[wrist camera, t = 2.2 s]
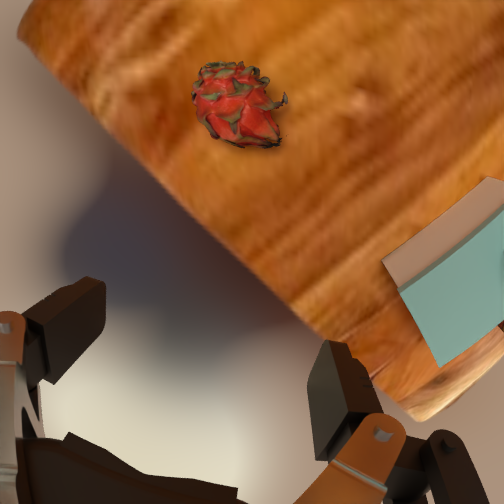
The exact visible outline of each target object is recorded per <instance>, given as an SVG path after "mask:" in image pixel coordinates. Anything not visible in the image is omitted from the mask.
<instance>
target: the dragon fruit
mask: <svg viewBox="0 0 504 504" xmlns="http://www.w3.org/2000/svg"><path fill="white" fill-rule="evenodd" d="M206 65H208V66H210V67H206V66H205V65H204V67H203V68H202V67H201V69H200V71H199V73H198V78H199V81H196V82H195V83H193V89H194V91H192V92H191V94H192V102H193V104H194V105H195V106H197V112H196V114H197V118H198V120H199V122H200V123H202V124H203V125H205V126H206V128H207V129H208V130H209V132H210V135H211V137H212V138H214V139H220V140H222V141H225V142H227V143H230V144H232V145H234V146H235V145H236V146H237V147H240V148H245V147H243V146H255V147H259V148H264V149H265V148H271V147H273V146H275V147H277V146H280V143H279V142H281V141H280V140H281V139H282V138H279V135H280V131H279V128H278V125H276V124H275V123H274V121H273V120H272V118H271V114H270V111H271V109H275V108H276V109H278V108H279V107H280V106H283V103H284V102H285V103H286V104H287V103H288V98H287V96H286V94H285V92H284V95H283V99H282V101H281V102H275V103H274V102H273V101H272V100H271V99H270V98H269V97H267V96H266V95H265V94H266V91H265V90H264V88H265V87H266V86H267V85H268V84H269V82H270V80H269V78H268V77H262V78H261V79H258V78H259V76H260V69H259V68H257V67H254V66H250V67H247V68H245V66H244V64H243V61H241V62H239V63H238V65H236V63H235V62H229V63H226V62H222V61H220V62H217V63H215V62H213V63H206ZM252 71H254V73H253V75H251V73H252ZM257 81H260V82H262V83H263V84H262V83H258V82H257ZM288 135H289V134H288ZM265 138H268V139H270V140H275V141H277V142H278V143H271V142H268V141H267V140H266V139H265Z"/></svg>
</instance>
